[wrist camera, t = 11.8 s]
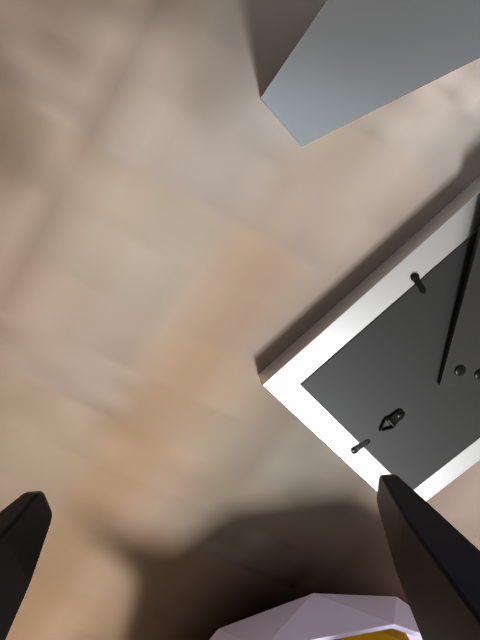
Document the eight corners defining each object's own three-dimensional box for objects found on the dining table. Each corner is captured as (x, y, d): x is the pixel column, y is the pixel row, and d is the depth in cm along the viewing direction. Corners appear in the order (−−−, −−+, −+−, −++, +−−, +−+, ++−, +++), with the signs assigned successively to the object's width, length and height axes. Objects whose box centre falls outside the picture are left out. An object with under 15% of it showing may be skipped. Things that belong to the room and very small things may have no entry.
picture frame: (525, 127, 20) (255, 369, 23) (576, 116, 17) (264, 391, 20) (618, 314, 25) (389, 495, 28) (670, 328, 22) (410, 526, 25)
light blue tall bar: (301, 146, 18) (562, 16, 5) (260, 98, 17) (458, -194, 4) (373, 66, 17) (869, -301, 5) (334, 11, 16) (821, -627, 4)
